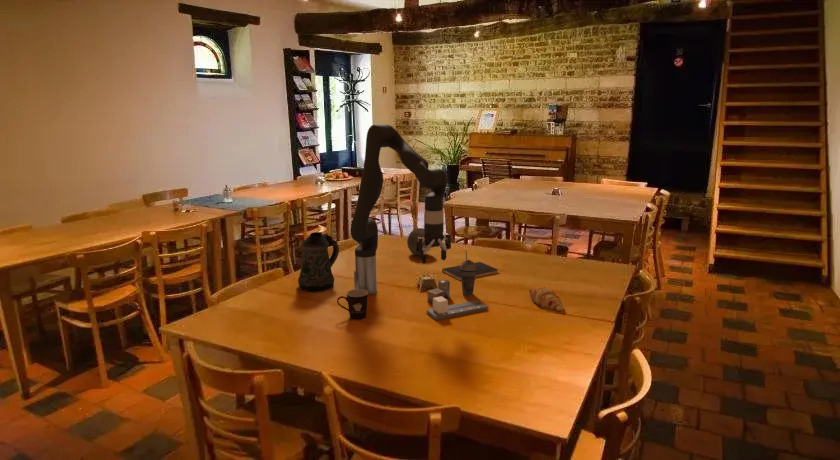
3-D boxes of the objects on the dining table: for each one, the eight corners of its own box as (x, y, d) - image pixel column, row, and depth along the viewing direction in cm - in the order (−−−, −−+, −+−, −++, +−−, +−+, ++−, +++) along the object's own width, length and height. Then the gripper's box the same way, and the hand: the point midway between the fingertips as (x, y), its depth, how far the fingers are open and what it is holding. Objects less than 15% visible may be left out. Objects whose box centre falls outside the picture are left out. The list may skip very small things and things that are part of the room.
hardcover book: (498, 274, 262) (498, 269, 261) (459, 281, 251) (459, 277, 250) (479, 265, 275) (479, 261, 275) (441, 272, 264) (441, 268, 264)
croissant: (566, 319, 215) (575, 301, 215) (550, 312, 210) (558, 294, 210) (534, 301, 234) (542, 284, 233) (518, 294, 229) (526, 277, 228)
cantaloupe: (405, 258, 287) (404, 231, 283) (409, 250, 300) (409, 225, 297) (430, 259, 284) (430, 232, 281) (434, 252, 298) (434, 226, 294)
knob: (438, 314, 207) (438, 302, 206) (432, 309, 212) (432, 297, 210) (447, 312, 209) (447, 300, 208) (441, 307, 213) (441, 296, 212)
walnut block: (435, 305, 221) (435, 294, 220) (427, 302, 224) (427, 291, 223) (444, 302, 224) (444, 291, 223) (436, 299, 228) (436, 288, 226)
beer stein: (291, 289, 239) (287, 236, 233) (314, 276, 257) (312, 226, 251) (322, 294, 233) (319, 239, 227) (344, 280, 251) (342, 229, 245)
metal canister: (441, 299, 227) (441, 284, 225) (436, 295, 231) (436, 280, 230) (451, 297, 229) (451, 282, 227) (445, 294, 233) (446, 279, 232)
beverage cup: (475, 297, 229) (476, 253, 224) (458, 296, 230) (459, 252, 226) (476, 291, 236) (477, 248, 231) (460, 290, 237) (461, 248, 233)
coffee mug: (372, 314, 212) (372, 290, 209) (363, 322, 204) (362, 298, 201) (346, 310, 215) (345, 287, 213) (336, 318, 207) (335, 294, 205)
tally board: (435, 320, 205) (435, 316, 205) (426, 313, 212) (426, 309, 212) (487, 309, 216) (487, 306, 215) (477, 303, 223) (477, 299, 222)
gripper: (444, 217, 210) (444, 256, 214) (412, 221, 203) (413, 261, 207) (454, 221, 203) (454, 261, 207) (422, 225, 197) (422, 266, 201)
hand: (433, 261), depth 207 cm, fingers open, 8 cm apart
